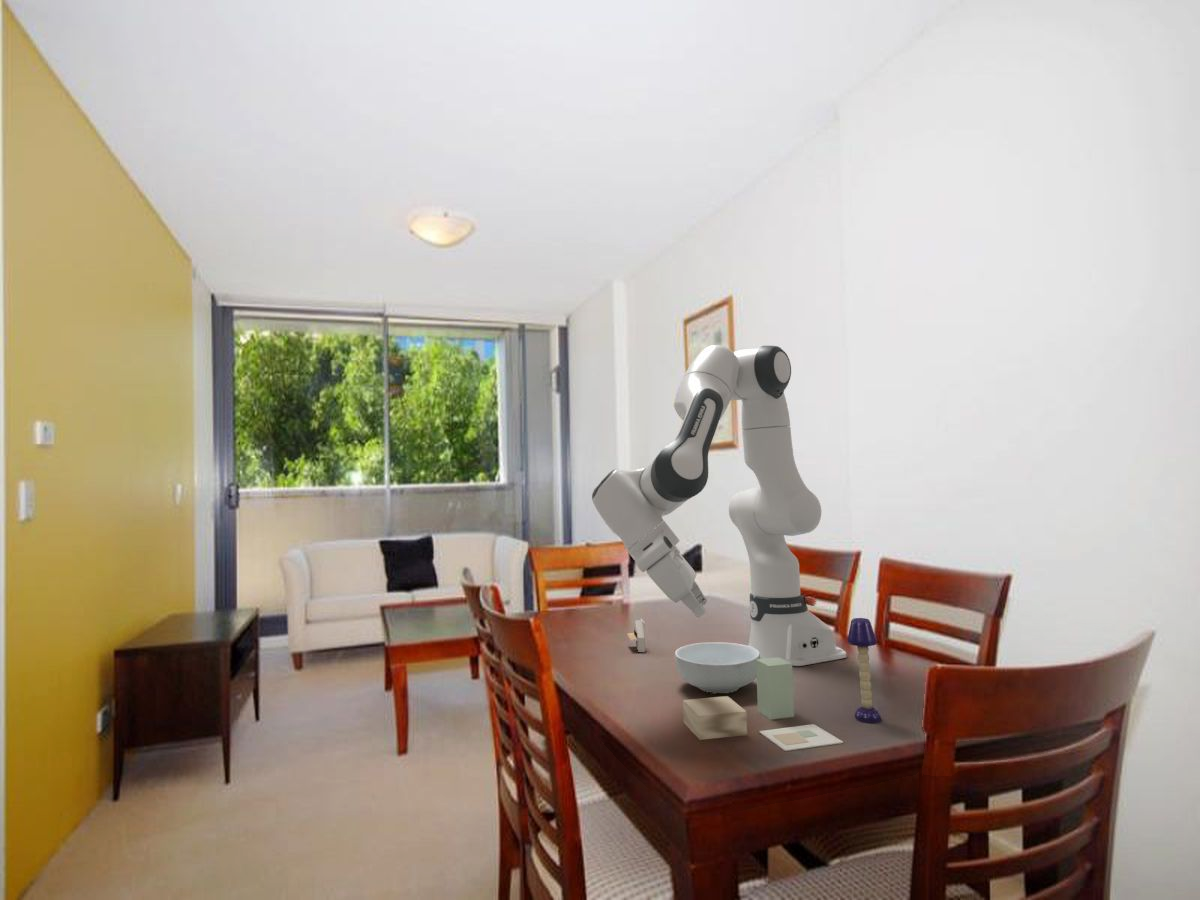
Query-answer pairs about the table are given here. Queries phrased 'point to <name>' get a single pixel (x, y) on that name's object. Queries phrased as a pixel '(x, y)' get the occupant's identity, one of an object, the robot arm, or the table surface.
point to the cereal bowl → (717, 665)
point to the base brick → (715, 717)
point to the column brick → (775, 688)
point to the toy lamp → (864, 667)
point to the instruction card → (800, 737)
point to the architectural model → (639, 635)
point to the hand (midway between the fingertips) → (703, 609)
